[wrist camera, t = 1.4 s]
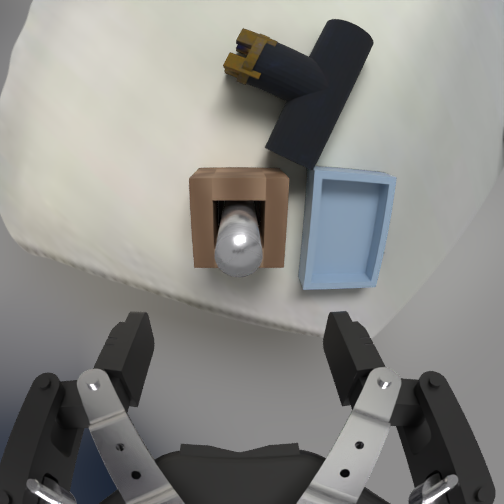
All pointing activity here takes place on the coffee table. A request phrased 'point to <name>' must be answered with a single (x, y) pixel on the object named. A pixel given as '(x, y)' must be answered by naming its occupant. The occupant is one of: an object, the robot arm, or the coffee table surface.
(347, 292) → the coffee table surface
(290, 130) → the pipe connector
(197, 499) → the robot arm
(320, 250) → the tray
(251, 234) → the pin
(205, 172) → the pin block
